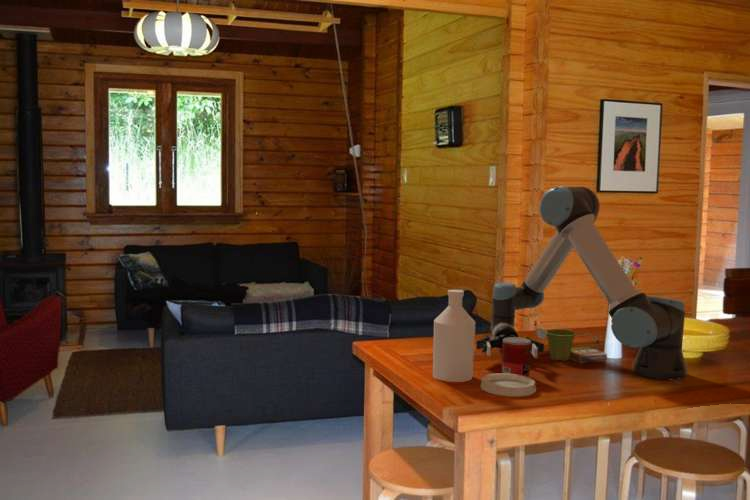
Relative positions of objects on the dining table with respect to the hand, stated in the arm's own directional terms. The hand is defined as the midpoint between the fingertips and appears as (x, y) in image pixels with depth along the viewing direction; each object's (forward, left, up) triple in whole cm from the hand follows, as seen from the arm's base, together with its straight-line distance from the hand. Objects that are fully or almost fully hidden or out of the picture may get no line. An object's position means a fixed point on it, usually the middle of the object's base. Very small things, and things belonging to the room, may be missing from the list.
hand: (512, 352), depth 228 cm
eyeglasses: (-11, -57, -7) cm, 58 cm away
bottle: (+16, +10, -7) cm, 20 cm away
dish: (-1, +16, -6) cm, 17 cm away
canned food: (-1, +3, -7) cm, 7 cm away
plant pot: (-11, -25, -7) cm, 28 cm away
